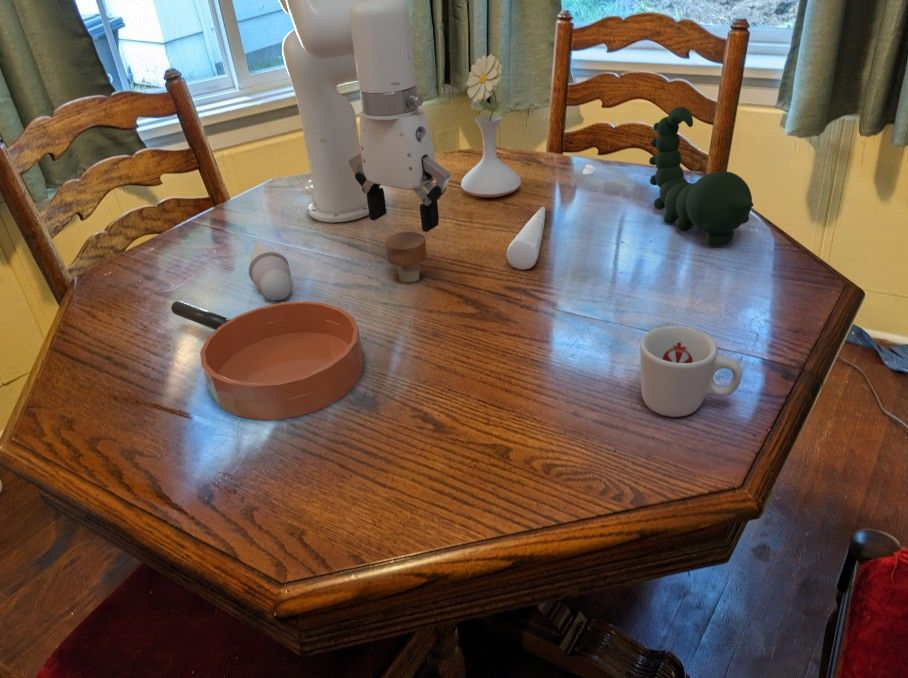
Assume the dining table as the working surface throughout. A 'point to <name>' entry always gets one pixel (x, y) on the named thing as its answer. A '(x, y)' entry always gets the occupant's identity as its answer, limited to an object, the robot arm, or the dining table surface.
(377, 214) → the robot arm
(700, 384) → the cup
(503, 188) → the flower in vase
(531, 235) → the unicorn horn
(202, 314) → the pan handle
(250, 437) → the dining table surface
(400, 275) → the mushroom
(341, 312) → the pan
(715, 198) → the toy figurine
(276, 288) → the ice cream cone
